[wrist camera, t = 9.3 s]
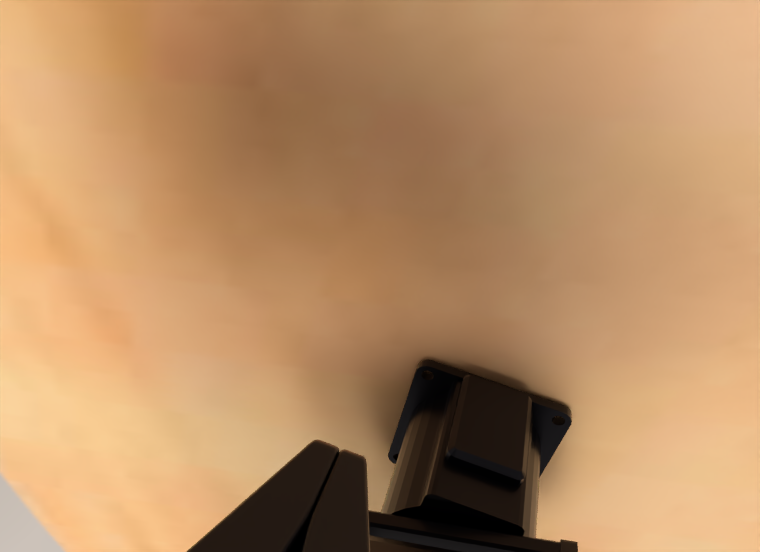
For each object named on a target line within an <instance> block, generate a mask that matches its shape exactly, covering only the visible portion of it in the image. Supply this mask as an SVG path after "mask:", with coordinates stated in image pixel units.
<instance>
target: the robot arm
mask: <svg viewBox="0 0 760 552" xmlns="http://www.w3.org/2000/svg"><path fill="white" fill-rule="evenodd" d="M425 371H430V372H432V374H428V373H426V372H425ZM555 416H561V417H563V418H556V417H555ZM571 422H572V414H571V411H570V410H569V409H568V408H567V407H565V406H563V405H561V404H558V403H555V402H552V401H549V400H546V399H543V398H540V397H537V396H534V395H531V394H528V393H526V392H523V391H520V390H517V389H514V388H511V387H508V386H505V385H502V384H499V383H496V382H494V381H491V380H488V379H485V378H482V377H479V376H476V375H473V374H470V373H467V372H464V371H461V370H459V369H456V368H453V367H450V366H447V365H444V364H441V363H438V362H435V361H432V360H423V361H421V362H420V363H419V364H418V367H417V370H416V373H415V376H414V379H413V382H412V385H411V388H410V391H409V394H408V397H407V400H406V403H405V406H404V409H403V412H402V415H401V418H400V421H399V424H398V427H397V430H396V433H395V436H394V439H393V442H392V445H391V448H390V451H389V454H388V457H389V459H390V461H392V462H393V463H395V464H396V465H395V469H394V472H393V475H392V478H391V481H390V485H389V488H388V491H387V494H386V498H385V501H384V504H383V507H382V511H381V512H375V511H369V510H368V487H367V464H366V459H365V457H364V456H362V455H359V454H356V453H353V452H351V451H348V450H341V451H340V452H339V449H338V447H336V446H334V445H331V444H329V443H326V442H323V441H320V440H314V441H312V442H311V443H310V444H308V445H307V446H306V447H305V448H304V449H303V450H302V451H300V452H299V453H298V454H297V455H296V456H295V457H294V458H293V459H291V460H290V461H289V462H288V463H287V464H286V465H285V466H283V467H282V468H281V469H280V470H279V471H278V472H277V473H275V474H274V475H273V476H272V477H271V478H270V479H269V480H267V481H266V482H265V483H264V484H263V485H262V486H261V487H260V488H258V489H257V490H256V491H255V492H254V493H253V494H252V495H250V496H249V497H248V498H247V499H246V500H245V501H244V502H242V503H241V504H240V505H239V506H238V507H237V508H236V509H234V510H233V511H232V512H231V513H230V514H229V515H228V516H227V517H225V518H224V519H223V520H222V521H221V522H220V523H219V524H217V525H216V526H215V527H214V528H213V529H212V530H211V531H209V532H208V533H207V534H206V535H205V536H204V537H203V538H201V539H200V540H199V541H198V542H197V543H196V544H195V545H194V546H192V547H191V548H190V549H189V550H188V551H187V552H578V546H577V542H573V541H567V540H560V542H556V541H550V540H544V539H538V538H536V525H537V507H538V490H539V477H540V476H541V474H542V472H543V471H544V469H545V467H546V466H547V464H548V462H549V461H550V459H551V457H552V456H553V454H554V452H555V451H556V449H557V447H558V445H559V444H560V442H561V440H562V439H563V437H564V435H565V434H566V432H567V430H568V429H569V427H570V425H571Z"/></svg>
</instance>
